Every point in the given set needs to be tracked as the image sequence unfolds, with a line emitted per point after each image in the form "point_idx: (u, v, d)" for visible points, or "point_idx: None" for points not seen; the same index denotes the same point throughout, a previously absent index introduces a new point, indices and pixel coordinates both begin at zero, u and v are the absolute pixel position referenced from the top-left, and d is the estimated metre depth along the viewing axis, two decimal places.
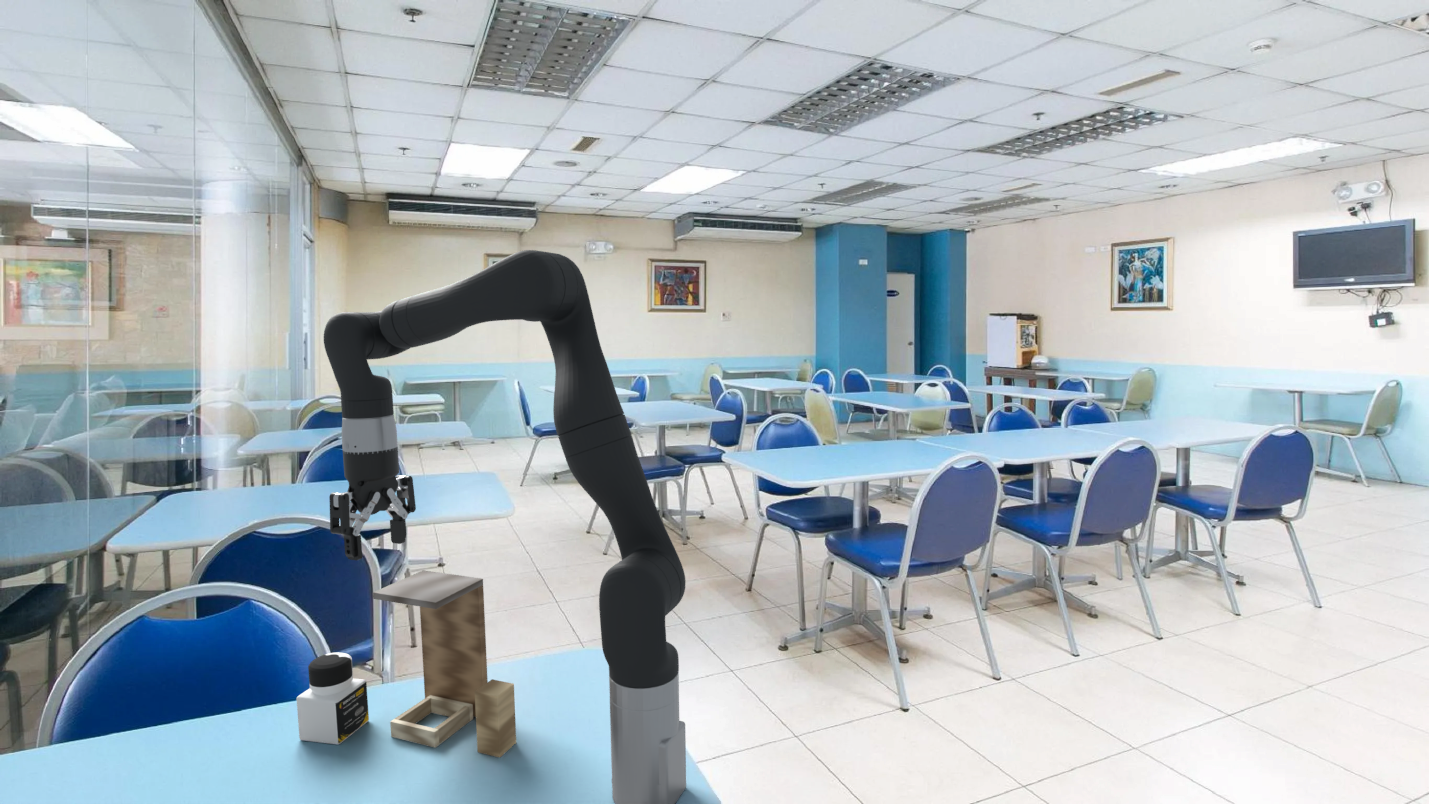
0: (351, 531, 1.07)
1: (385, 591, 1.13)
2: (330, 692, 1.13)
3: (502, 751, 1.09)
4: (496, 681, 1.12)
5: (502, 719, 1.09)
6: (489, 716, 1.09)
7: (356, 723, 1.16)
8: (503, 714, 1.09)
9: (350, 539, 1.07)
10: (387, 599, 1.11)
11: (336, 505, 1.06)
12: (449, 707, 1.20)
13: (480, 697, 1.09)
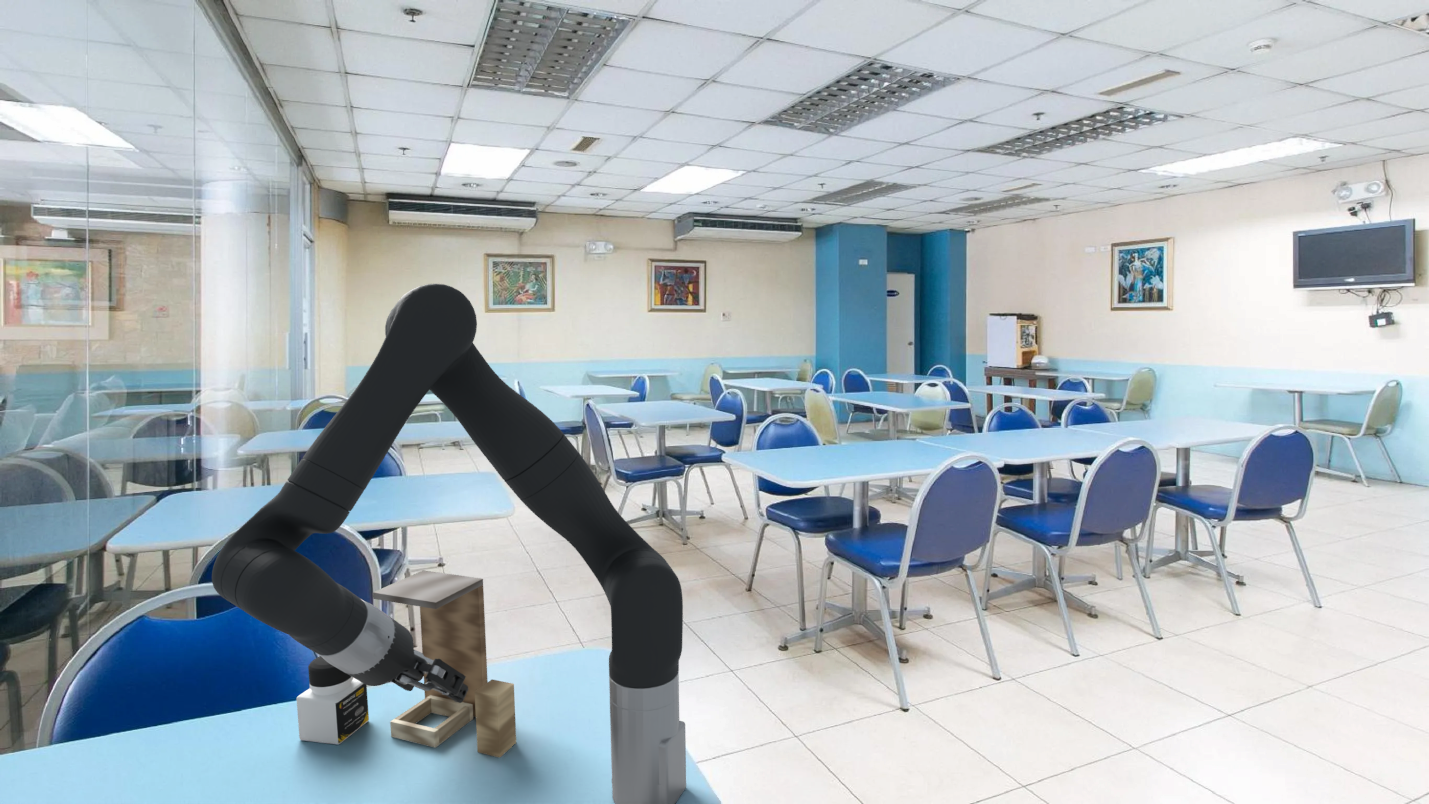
0: None
1: (385, 591, 1.13)
2: (330, 692, 1.13)
3: (502, 752, 1.09)
4: (496, 681, 1.12)
5: (502, 719, 1.09)
6: (489, 716, 1.09)
7: (356, 723, 1.16)
8: (503, 714, 1.09)
9: None
10: (387, 599, 1.11)
11: (443, 674, 0.90)
12: (449, 707, 1.20)
13: (480, 697, 1.09)
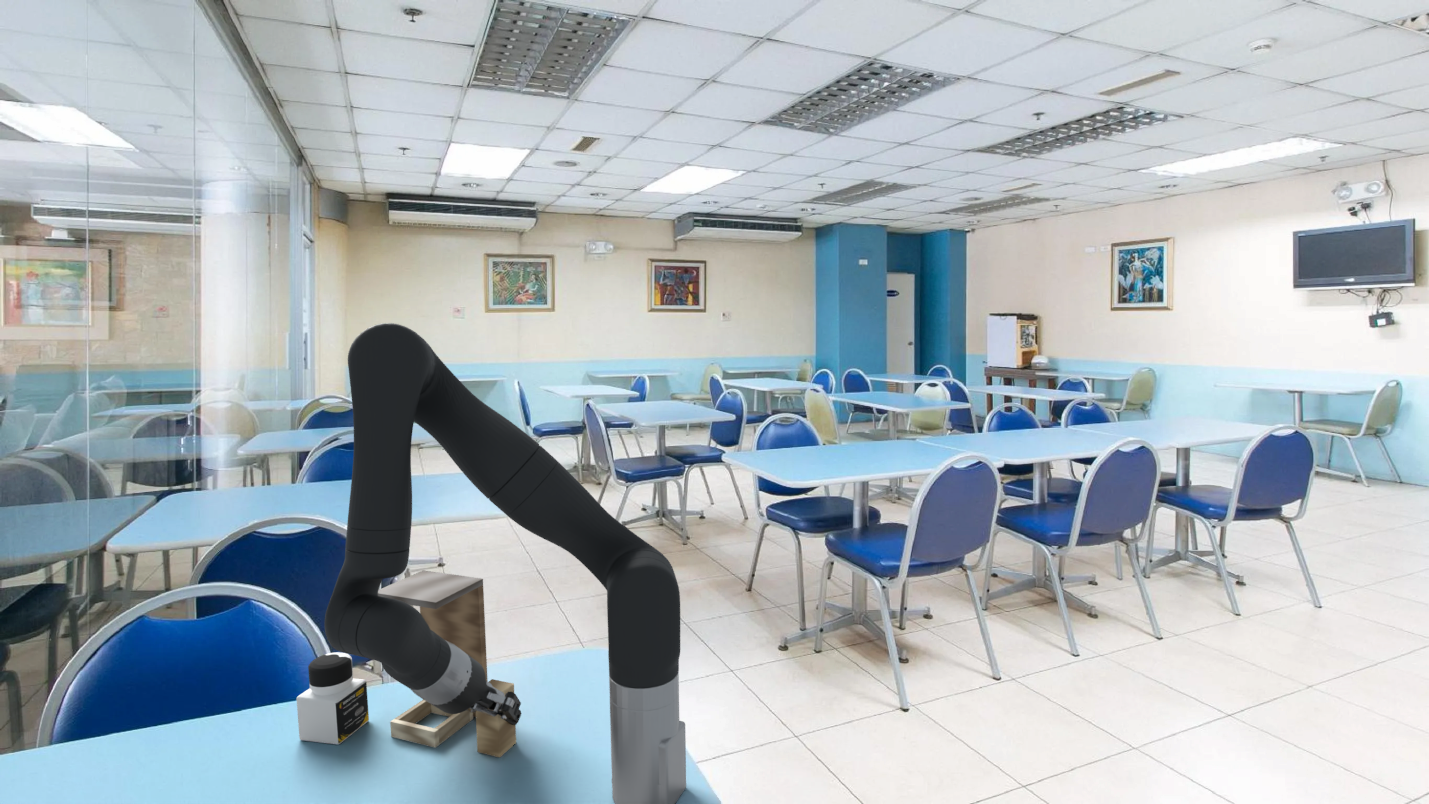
0: None
1: (385, 591, 1.13)
2: (330, 692, 1.13)
3: (502, 751, 1.09)
4: (496, 681, 1.12)
5: (502, 719, 1.09)
6: (489, 716, 1.09)
7: (356, 723, 1.16)
8: None
9: None
10: None
11: (513, 704, 1.04)
12: None
13: None
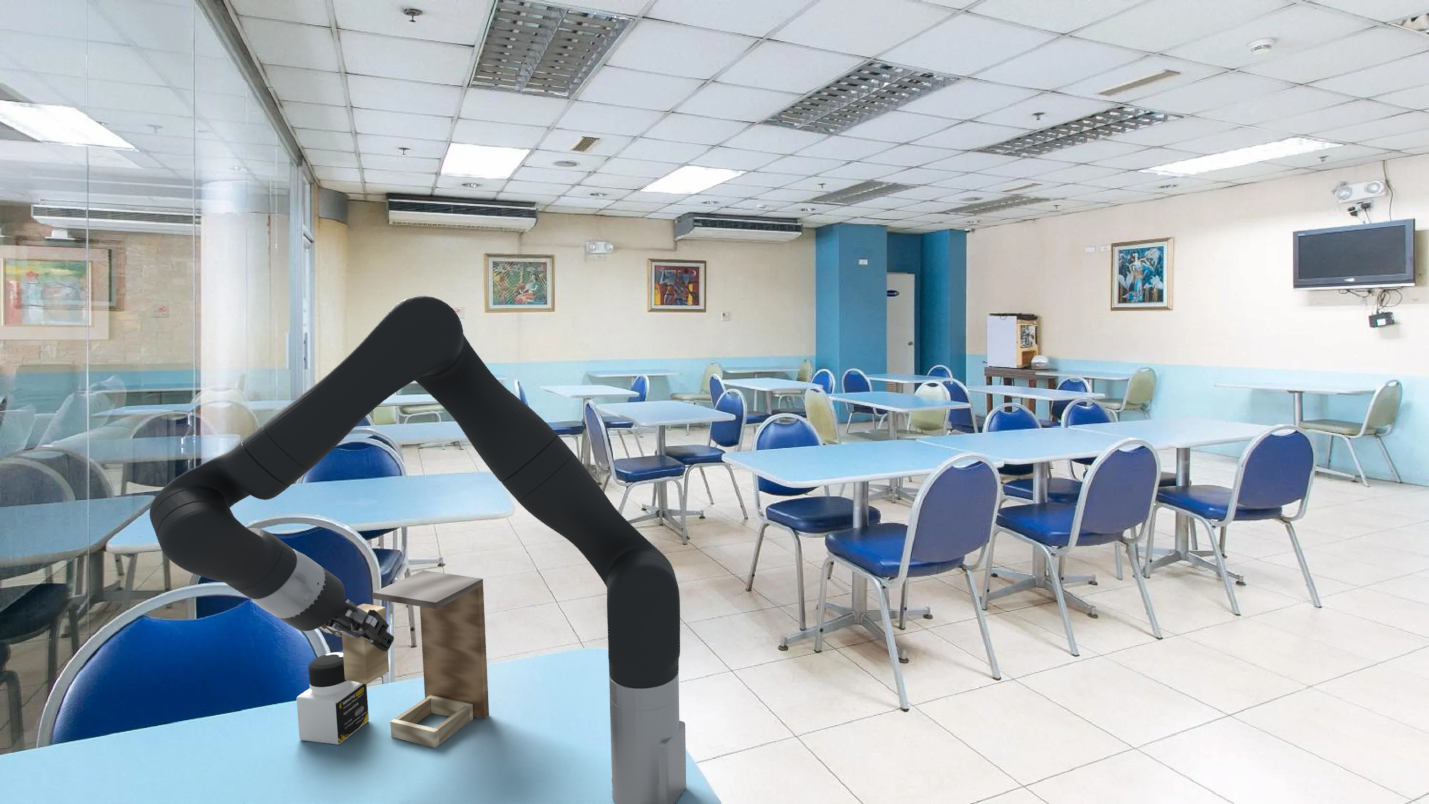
0: None
1: (385, 591, 1.13)
2: (330, 692, 1.13)
3: (370, 678, 1.02)
4: (367, 605, 1.05)
5: (370, 644, 1.02)
6: (355, 640, 1.01)
7: (356, 723, 1.16)
8: None
9: None
10: (387, 599, 1.11)
11: (375, 624, 0.97)
12: (449, 707, 1.20)
13: None
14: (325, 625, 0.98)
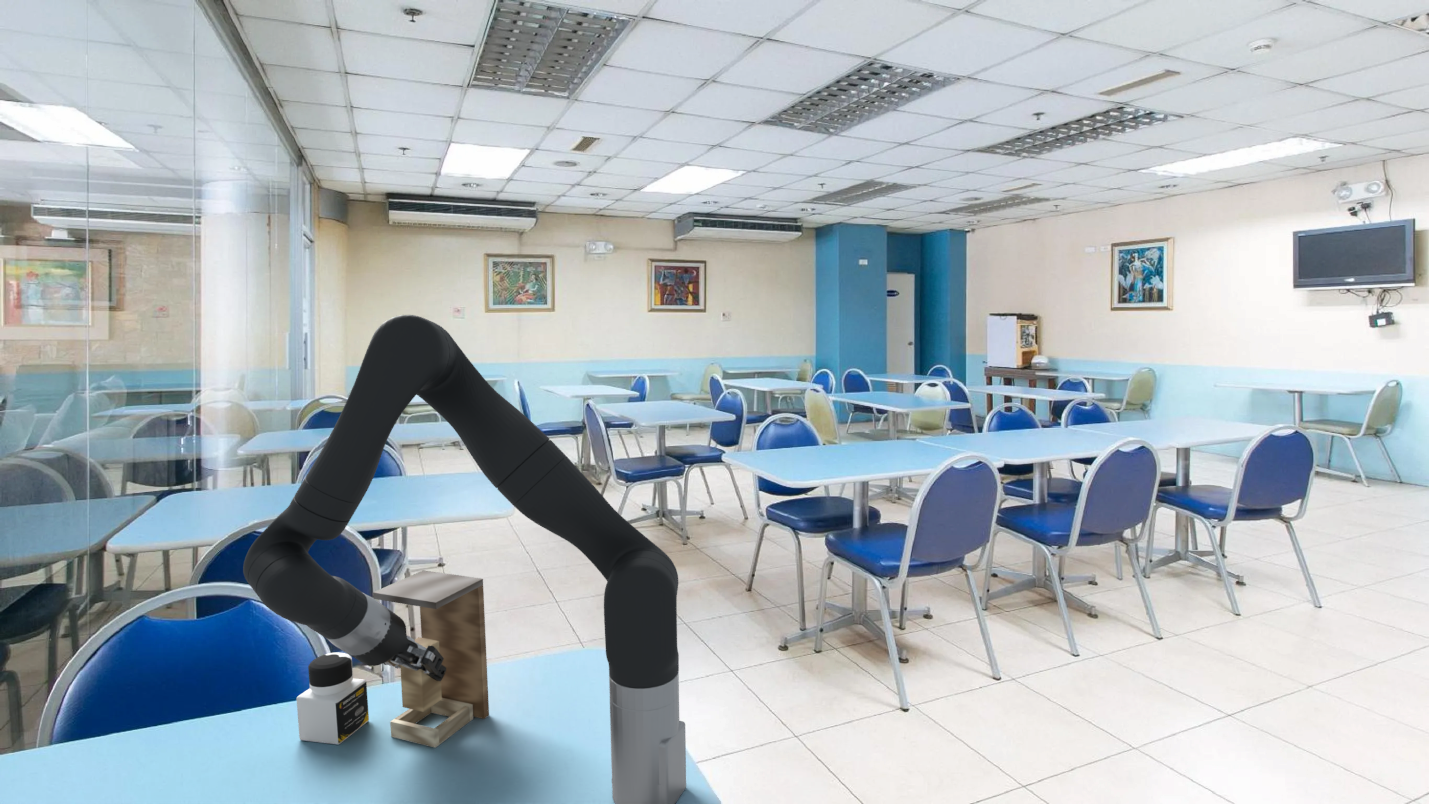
0: None
1: (385, 591, 1.13)
2: (330, 692, 1.13)
3: (426, 706, 1.13)
4: (422, 639, 1.15)
5: (426, 675, 1.12)
6: (413, 671, 1.12)
7: (356, 723, 1.16)
8: None
9: None
10: (387, 599, 1.11)
11: (433, 658, 1.08)
12: (449, 707, 1.20)
13: None
14: None
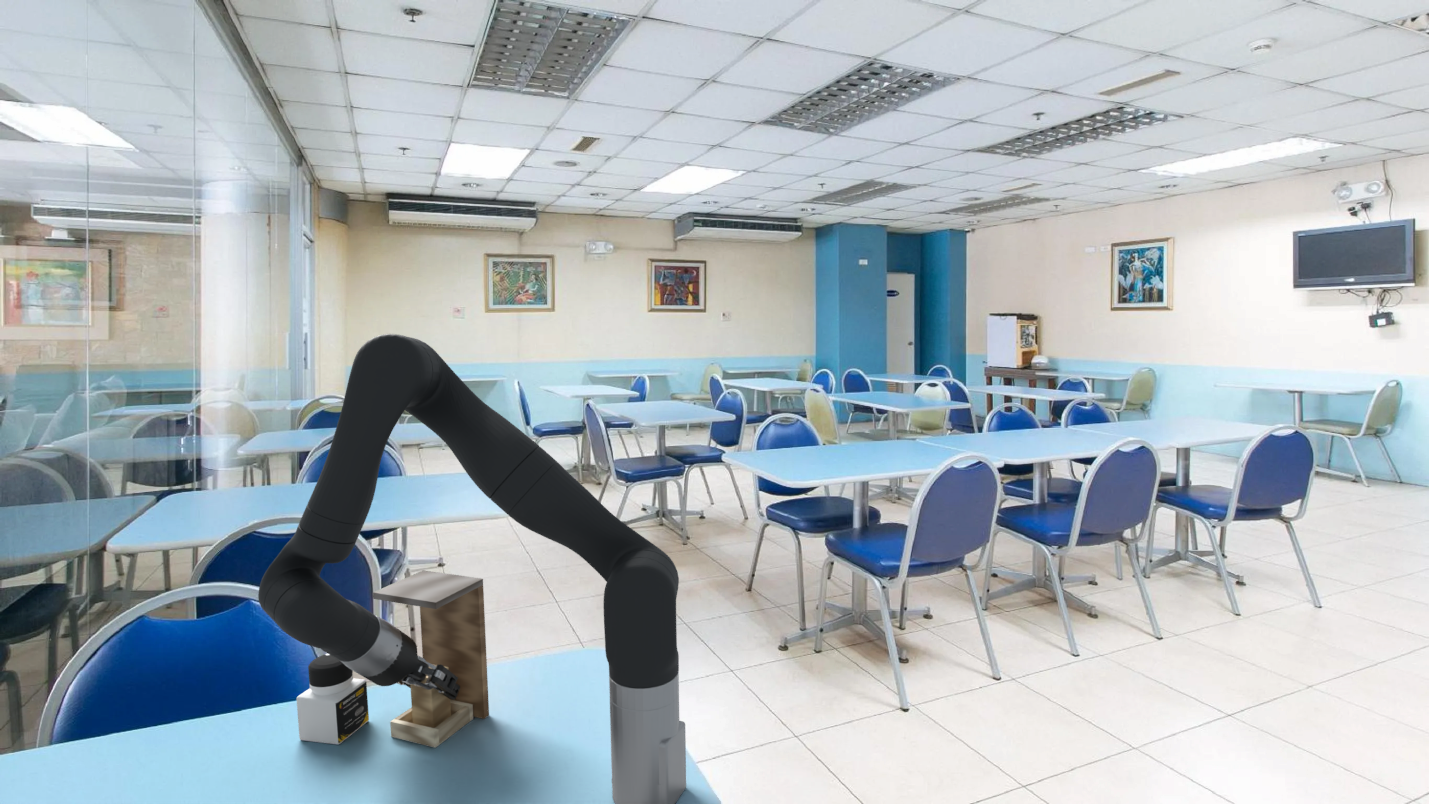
0: None
1: (385, 591, 1.13)
2: (330, 692, 1.13)
3: None
4: None
5: (436, 701, 1.15)
6: (424, 697, 1.14)
7: (356, 723, 1.16)
8: (437, 695, 1.15)
9: None
10: (387, 599, 1.11)
11: (443, 677, 1.09)
12: None
13: None
14: None
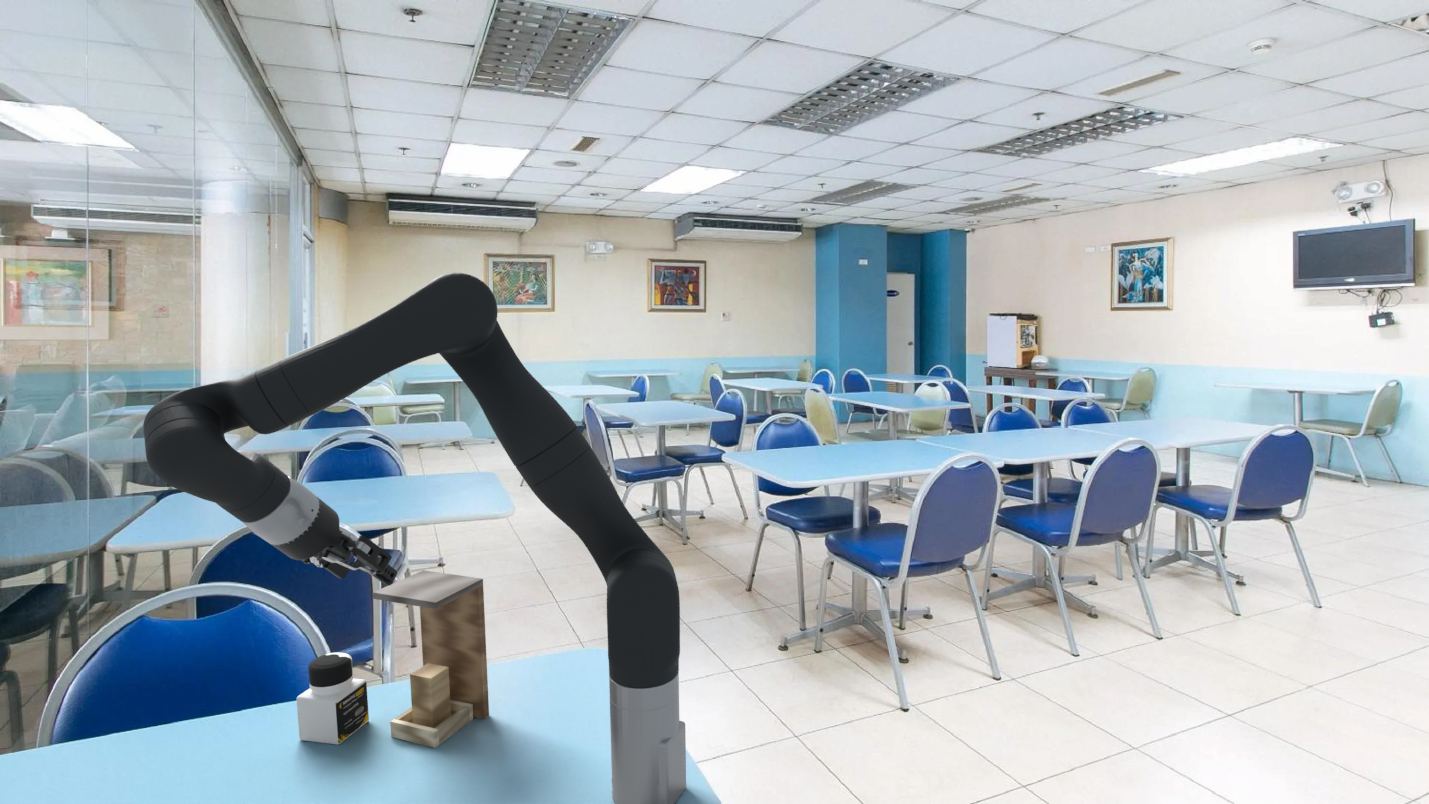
0: None
1: (385, 591, 1.13)
2: (330, 692, 1.13)
3: None
4: (432, 665, 1.18)
5: (436, 701, 1.15)
6: (424, 697, 1.14)
7: (356, 723, 1.16)
8: (437, 695, 1.15)
9: None
10: (387, 599, 1.11)
11: (368, 550, 0.95)
12: None
13: (415, 680, 1.14)
14: (318, 557, 0.98)
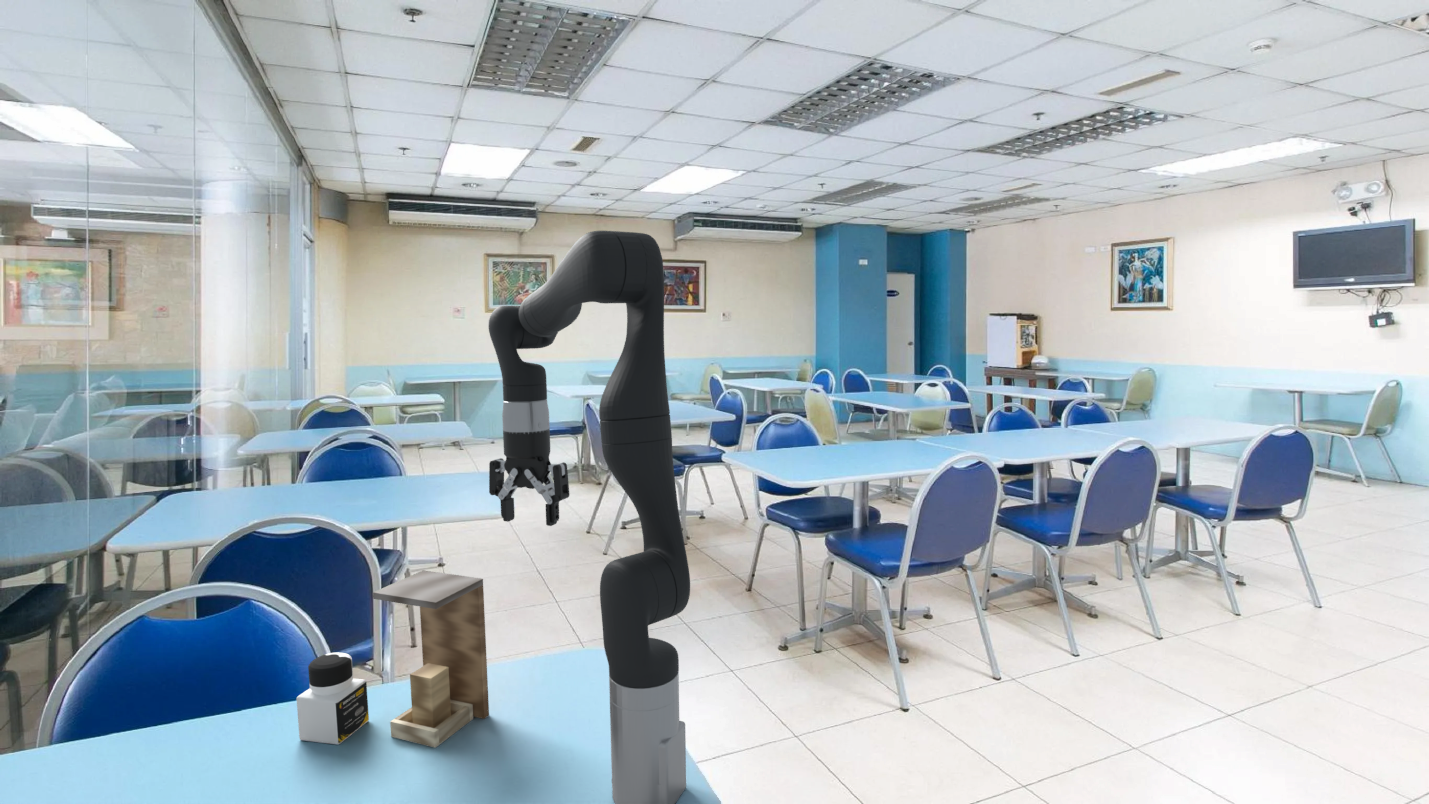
0: None
1: (385, 591, 1.13)
2: (330, 692, 1.13)
3: None
4: (432, 665, 1.18)
5: (436, 701, 1.15)
6: (424, 697, 1.14)
7: (356, 723, 1.16)
8: (437, 695, 1.15)
9: (558, 504, 1.23)
10: (387, 599, 1.11)
11: (563, 474, 1.21)
12: None
13: (415, 680, 1.14)
14: (516, 477, 1.23)
